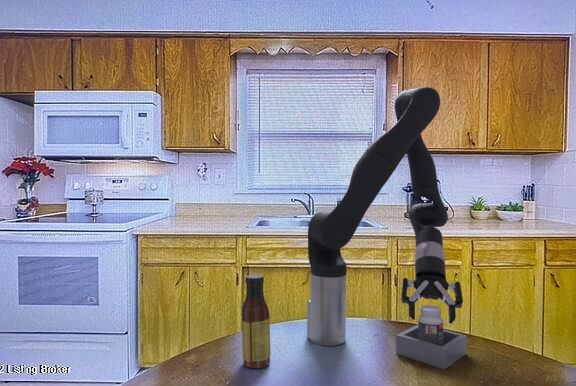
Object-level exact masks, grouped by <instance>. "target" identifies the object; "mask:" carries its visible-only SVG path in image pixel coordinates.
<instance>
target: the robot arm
mask: <svg viewBox="0 0 576 386" xmlns="http://www.w3.org/2000/svg"><path fill="white" fill-rule="evenodd" d="M440 106H441V97H440V94H439V92H438V91H437V89H434V88H433V87H429V86H422V87H421V86H420V87H416V88H411V89H406V90H402V91H401V92H400V93H399V94H398V95H397V96H396V98H395V100H394V112H395V113H394V114H395V118H396V121H397V122H396V123H395V124H394V125H393V126H391V128H390V129H388V130H387V131H385V132H384V133H383V134H381V135H380V136H379V137H378V138H376V139H375V140H374V141H373V142H372V143H371V144H369V146H368V147H367V148H366V149H365V151H364V152H363V154H362V155H361V157H360V158H359V159H358V160H357V163H356V164H355V166H354V168H353V170H352V173H351V177H350V181H349V185H348V188H347V189H346V192H345V193H344V195H343V197H342V198H341V200H340V201H339V202H338V203H337V205H336V206H335V207H334V209H333V210H331V211H330V210H320V211H318V212H316V213H315V214H314V215H313V216H312V217H311V219H310V220H309V222H308V227H307V228H308V229H307V251H308V252H307V255H308V256H307V257H308V262H309V265H310V299H309V300H308V301H307V303H306V305H307V307H306V308H307V309H306V338H307V339H309V340H310V341H311V342H312V343H314V344H316V345H319V346H326V347H327V346H328V347H330V346H331V347H332V346H340V345H342V344H344V343H345V342H346V330H347V329H346V328H347V327H346V326H347V322H346V321H347V319H346V318H347V275H348V273H347V271H348V269H347V268H348V267H347V262H345V260H344V259H343V256H342V252H341V249H342V248H344V247H346V245H347V244H348V243H350V242H351V239H352V238H353V237H354V234H355V233H356V231H357V229H358V227H359V225H360V223H361V221H362V220H363V218H364V216H365V214H366V213H367V211H368V210H369V208H370V206H371V205H372V204H373V202H374V201H375V199H376V198H377V196H378V194H379V193H380V192H381V190H382V189H383V187H384V186H385V185H386V183H387V182H388V181H389V180H390V178H391V177H392V175H393V174H394V172H395V170H396V169H397V167H398V166H399V164H400V163H401V161H402V160H403V158H404V157H405V156H406V155H407V156H406V157H407V161H408V162H407V163H408V167H409V174H410V183H411V190H412V194H413V196H416V197H420V198H425V199H429V200H430V201H432V202H426V203H415V204H413V205H412V206H410V208H409V210H408V218H409V221H410V223H411V227H412V229H413V232H414V237H415V253H414V273H415V274H414V280H410V279H409V280H408V278H407V277H404V278H402V285H401V286H402V287H401V298H400V299H401V303H402V304H407V305H408V316H409V318H411V320H413V321H415V320H416V303H418V302H419V301H420V300H421V299H422V298H424V299H426V300H431V299H432V300H440V301H441V302H442V304H445V305H446V307H447V308H448V310H447V312H448V314H447V315H448V324H453V322H455V321H456V317H457V316H456V315H457V314H456V309H461V308H462V307H463V302H464V299H463V292H462V286H461V282H460V281H455V282H454V283H449V282H448V281H447V273H446V272H447V271H446V258H445V257H446V256H445V252H444V244H443V235H442V234H443V233H442V231H441V230H440V229H438V228H441V227H444V226H445V225H446V224H447V222H448V218H449V214H448V211H447V209H446V205H445V203H444V201H443V200H442V197H441V194H440V191H439V185H438V176H437V168H436V165H435V161H434V158H433V156H432V155H431V153H430V150H429V149H428V148H427V146H426V143H425V142H424V139H423V136H422V133H423V132H424V131H425V129H427V127H429V125H430V124H431V123H432V121H433V120H434V119H435V117H436V116H437V114H438V112H439V110H440ZM412 287H413V288H414V289H415V290H414V291H413V294H412V295H410V296H407V295H408V294H407V293H408V290H410V289H411V288H412ZM449 289H450V291H451V293H453V294H454V298H455V300H454V299H453V298H452V297H451V296H450V294H449V292H448V290H449Z"/></svg>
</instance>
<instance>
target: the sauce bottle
mask: <svg viewBox="0 0 576 386" xmlns="http://www.w3.org/2000/svg"><path fill="white" fill-rule="evenodd" d="M264 282H265V277H264V275H263V274H259V273H258V274H256V273H255V274H247V275H246V276H245V284H246V293H245V294H246V295H245V296H246V297H245V299H244V301H243V302H242V306H241V334H242V335H241V339H242V341H241V342H242V359H243V365H244V366H245V367H246V368H250V369H253V370H254V369H256V370H257V369H258V370H259V369H263V368H266V367H268V366H269V364H270V363H271V354H272V353H271V325H270V324H271V323H270V322H271V321H270V319H271V318H270V311H269V310H270V309H269V306H268V304H267V302H266V300H265V296H264Z"/></svg>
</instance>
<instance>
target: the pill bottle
mask: <svg viewBox="0 0 576 386" xmlns="http://www.w3.org/2000/svg"><path fill="white" fill-rule="evenodd" d="M419 309H420V310H419V311H420V314H421V315H420V316H419V317H418V320H417V321H418V323H417V325H418V332H419V340H422V341H425V342H429V343H432V344H436V345H439V346H443V329H444V320H443V318H442V317H441V314H442V308H441V307H439V306H436V305H431V304H427V305H421V306H420V308H419Z"/></svg>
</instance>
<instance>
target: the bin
mask: <svg viewBox="0 0 576 386" xmlns="http://www.w3.org/2000/svg"><path fill="white" fill-rule="evenodd" d="M395 335H396V337H395V339H396V340H395V342H396V343H395V354H396V355H399V356H402V357H405V358H408V359H411V360H414V361H417V362H421V363H423V364H427V365H429V366H433V367H436V368H439V369H441V370H446V369H447V368H449V367H450V366H452V365H454V363H456V362H457V361H458V360H460V359H461V358H463V357H464V356H466V355H467V338H468V335H465V334H462V333H458V332H455V331H451V330H448V329H447V330H446V329H444V328H443V346H439V345H436V344H432V343H429V342H425V341H422V340H419V332H418V324H416V325H414V326H412V327H410V328H408V329H406V330H403V331H401V332H399V333H397V334H395Z"/></svg>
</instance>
